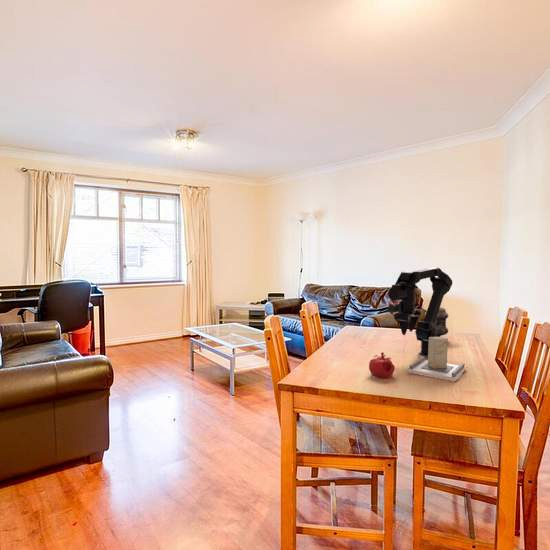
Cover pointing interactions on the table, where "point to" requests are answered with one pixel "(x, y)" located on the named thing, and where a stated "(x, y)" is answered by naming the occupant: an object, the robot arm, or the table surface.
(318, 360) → the table surface
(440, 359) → the skincare box
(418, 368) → the stand
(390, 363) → the pomegranate
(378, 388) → the table surface
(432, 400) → the table surface
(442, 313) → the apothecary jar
